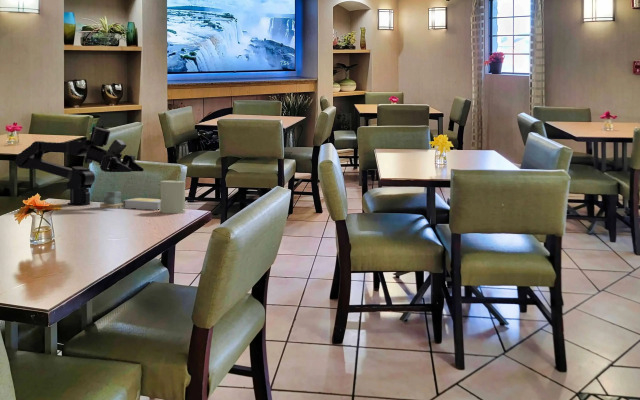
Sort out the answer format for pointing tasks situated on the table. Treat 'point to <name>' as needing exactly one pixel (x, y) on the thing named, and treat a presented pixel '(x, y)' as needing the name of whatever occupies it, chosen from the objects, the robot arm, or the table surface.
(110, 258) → the table surface
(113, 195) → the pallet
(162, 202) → the can
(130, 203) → the dock
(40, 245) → the table surface
